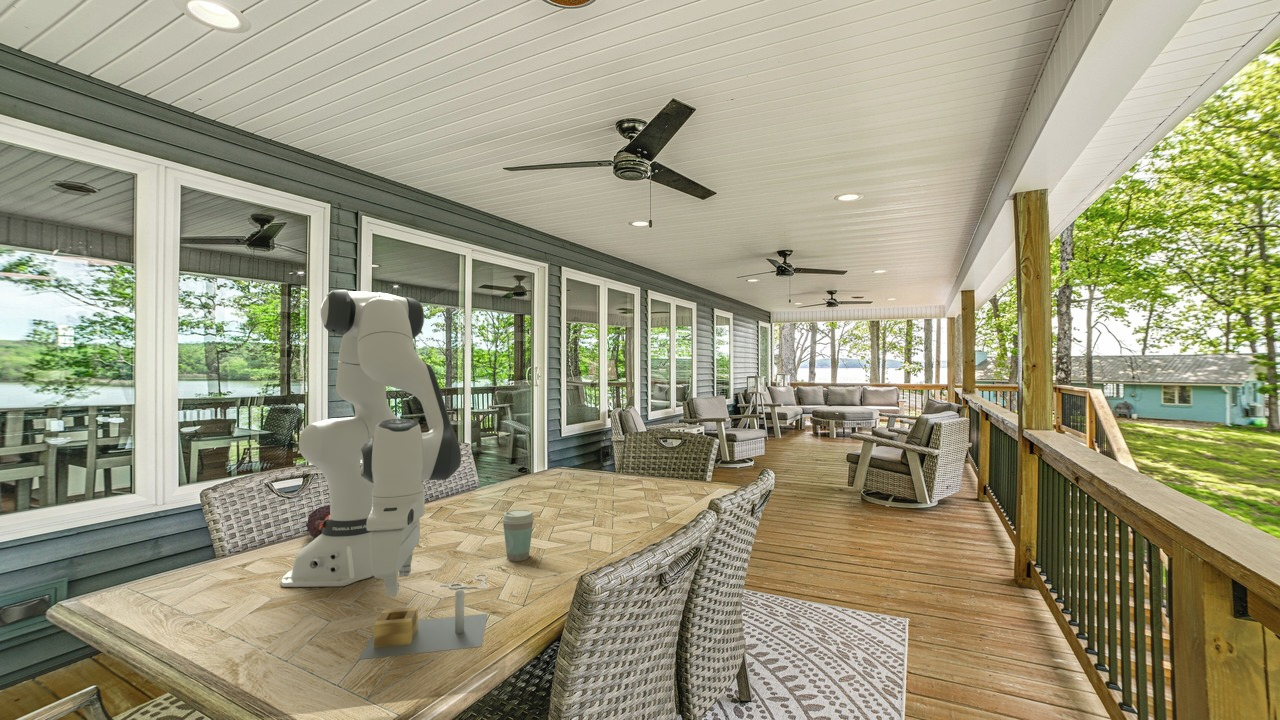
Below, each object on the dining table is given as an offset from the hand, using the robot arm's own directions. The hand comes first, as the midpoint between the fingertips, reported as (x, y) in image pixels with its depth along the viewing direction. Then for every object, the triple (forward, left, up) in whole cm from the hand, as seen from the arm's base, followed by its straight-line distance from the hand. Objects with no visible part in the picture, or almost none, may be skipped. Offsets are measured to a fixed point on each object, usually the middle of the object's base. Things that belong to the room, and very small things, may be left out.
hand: (399, 584), depth 96 cm
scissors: (+13, +23, -12) cm, 29 cm away
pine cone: (-38, +73, -11) cm, 83 cm away
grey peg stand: (+5, 0, -11) cm, 12 cm away
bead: (0, 0, -10) cm, 10 cm away
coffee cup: (+20, +43, -11) cm, 49 cm away
